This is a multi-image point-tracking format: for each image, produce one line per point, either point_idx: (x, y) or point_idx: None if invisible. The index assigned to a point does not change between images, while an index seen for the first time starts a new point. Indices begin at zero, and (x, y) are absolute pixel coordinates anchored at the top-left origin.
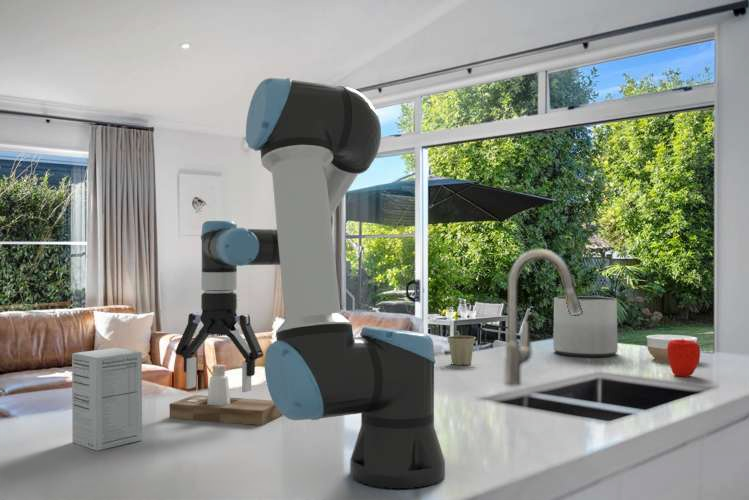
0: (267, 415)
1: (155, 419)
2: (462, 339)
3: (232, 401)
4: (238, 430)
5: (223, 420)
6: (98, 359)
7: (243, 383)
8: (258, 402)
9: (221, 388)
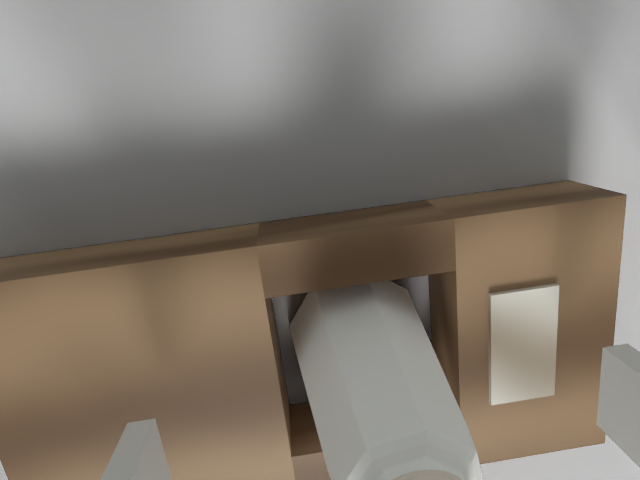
0: None
1: (622, 120)
2: None
3: None
4: (28, 111)
5: (235, 227)
6: None
7: (121, 474)
8: None
9: (335, 400)
